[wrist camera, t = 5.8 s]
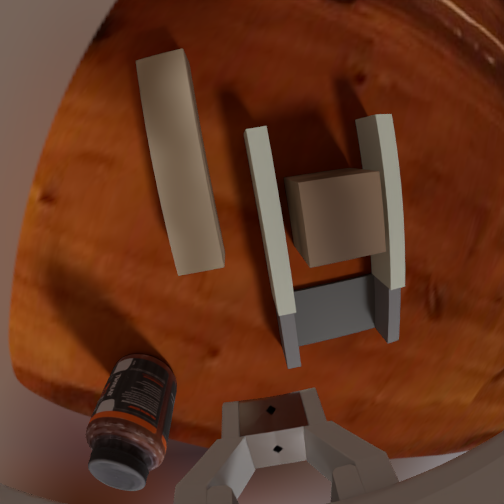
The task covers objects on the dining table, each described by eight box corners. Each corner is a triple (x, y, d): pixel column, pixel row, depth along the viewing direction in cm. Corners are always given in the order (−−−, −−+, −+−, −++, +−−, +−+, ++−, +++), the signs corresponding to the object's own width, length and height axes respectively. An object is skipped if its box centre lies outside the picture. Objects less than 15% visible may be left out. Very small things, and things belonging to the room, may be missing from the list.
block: (349, 167, 22) (379, 171, 17) (356, 233, 23) (385, 251, 19) (283, 177, 22) (298, 182, 17) (293, 245, 23) (310, 267, 19)
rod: (189, 63, 19) (182, 48, 16) (225, 251, 23) (224, 267, 20) (149, 74, 19) (135, 60, 16) (185, 258, 23) (178, 275, 20)
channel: (369, 118, 21) (391, 113, 18) (384, 322, 26) (402, 342, 22) (243, 133, 21) (246, 129, 17) (281, 347, 26) (287, 373, 22)
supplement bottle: (109, 347, 25) (61, 441, 14) (175, 352, 25) (152, 458, 14) (120, 397, 26) (88, 488, 16) (180, 403, 27) (166, 503, 16)
